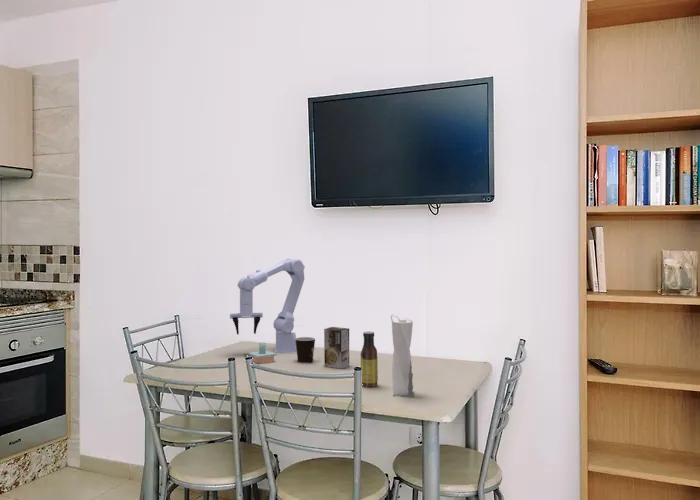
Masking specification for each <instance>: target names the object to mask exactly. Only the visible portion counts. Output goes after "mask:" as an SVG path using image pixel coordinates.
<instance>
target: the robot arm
mask: <svg viewBox="0 0 700 500" xmlns="http://www.w3.org/2000/svg"><path fill="white" fill-rule="evenodd" d="M304 270H305V265H304V263H303V261H302V260H300V259H292V258H286V259H285V260H284V259H283V260H281V261H280V262H278V263H276V264H275V265H273V266H271V267H269V268H267V269H266V270H263V269H256V270H255V272H254V273H252V274H248V275H247V277H241V278H240V279H239V280H238V282H237V287H238V289H239V313H230V314H229V319H232V321H233V324H234V326H235V331H236V335H240V334H239V333H240V331H239V319H249V318H251V319H253V334H254V335H256V334H257V329H258V325H259V323H260V321H261V318H263V317H264V316H263V312H254V311H253V310H254V309H253V308H254V307H253V305H254V304H253V303H254V301H253V299H254V298H253V291H254V289H255V287H257V286H259V285H262V284H263V283H265V282H267V280H268V278H269V277H272V276H273V275H276V274H278V273H281V272H286V273H287V274H288V275H289V276H290V278H291V283H290V286H289V288H288V291H287V295H286V297H285V301H284V304H283V307H282V309H281V311H280V312H279V313H278V314H277V317H276V318H275V319H274V321H273V324H272V325H273V328H274V329H275V348H274V349H273V350H274V353H276V354H284V353H285V354H286V353H297V349H296V340H295V339H296V338H297V336H296V335H297V334H296V332H293V330H294V327H295V325H294V322H295V317H294V312H295V309H296V307H297V303H298V300H299V297H300V294H301V291H302V288H303V284H304V283H305V271H304Z"/></svg>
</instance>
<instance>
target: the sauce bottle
mask: <svg viewBox="0 0 700 500" xmlns="http://www.w3.org/2000/svg"><path fill="white" fill-rule="evenodd" d="M362 336H363V345H362V348H361V351H360V369H361V368H362V384H363V387H365V388H366V387H367V388H372V387H373V388H374V387H377V385H378V380H379V375H378V373H379V371H378V366H379V364H378V361H379V360H378V349H377V347H376V346H375V339H374V338H375V332H374V331H370V330H369V331H364V332H363V334H362ZM362 384H361V385H362Z"/></svg>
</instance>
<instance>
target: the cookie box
mask: <svg viewBox="0 0 700 500" xmlns="http://www.w3.org/2000/svg"><path fill="white" fill-rule="evenodd" d="M323 334H324V335H323V339H324V340H323V341H324V342H323V343H324V344H323V345H324V346H323V348H324V349H323V350H324V351H323V352H324V355H323V356H324V359H323V360H324V361H323V362H324V367H327V368H335V369H340V370H342V369H345V368H349V367H350V328H346V327H339V326H331V327H326V328H324V329H323Z"/></svg>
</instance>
